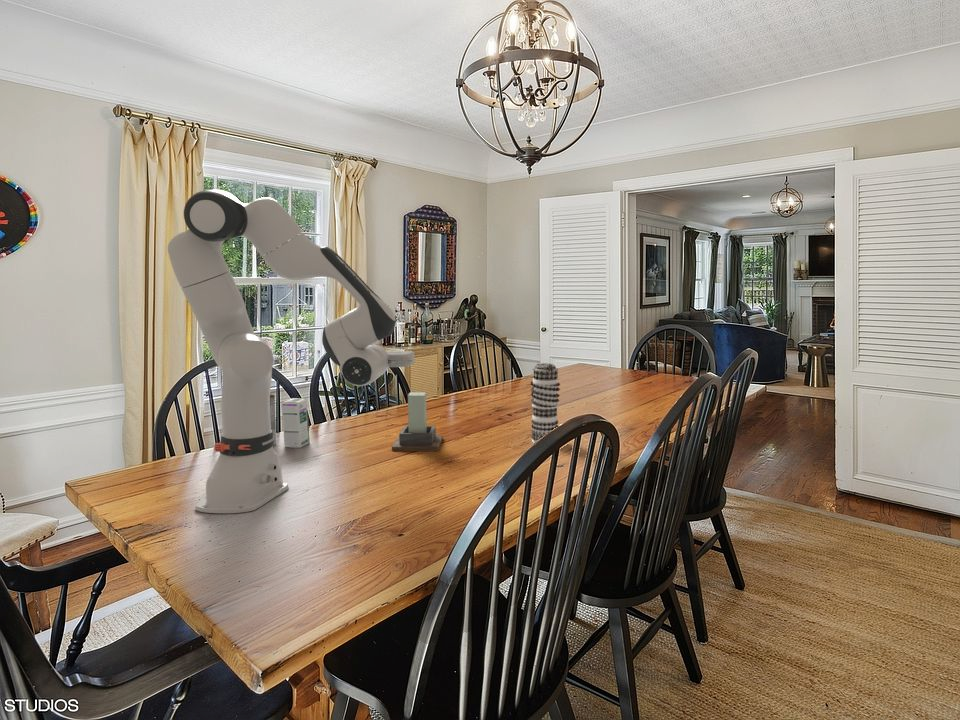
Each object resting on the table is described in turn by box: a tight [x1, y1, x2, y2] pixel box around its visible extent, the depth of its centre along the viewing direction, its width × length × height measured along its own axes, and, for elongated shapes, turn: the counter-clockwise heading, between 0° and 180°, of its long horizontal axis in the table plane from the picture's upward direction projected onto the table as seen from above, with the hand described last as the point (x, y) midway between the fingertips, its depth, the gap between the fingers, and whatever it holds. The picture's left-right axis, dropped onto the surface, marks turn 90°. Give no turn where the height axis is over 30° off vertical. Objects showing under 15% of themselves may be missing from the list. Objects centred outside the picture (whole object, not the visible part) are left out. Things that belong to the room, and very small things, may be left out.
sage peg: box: [407, 391, 428, 433], centre depth 179 cm, size 5×5×15 cm
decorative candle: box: [530, 362, 561, 444], centre depth 181 cm, size 9×9×25 cm
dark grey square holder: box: [391, 425, 444, 452], centre depth 180 cm, size 14×14×5 cm
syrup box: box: [281, 397, 311, 449], centre depth 179 cm, size 6×6×14 cm
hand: (382, 354), depth 165 cm, fingers open, 8 cm apart
